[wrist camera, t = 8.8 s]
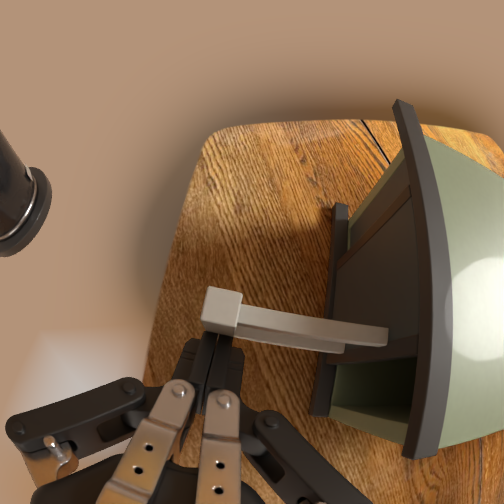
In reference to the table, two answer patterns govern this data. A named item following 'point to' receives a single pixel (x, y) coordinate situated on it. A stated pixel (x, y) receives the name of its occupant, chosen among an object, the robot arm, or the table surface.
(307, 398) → the table surface
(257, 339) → the dark grey drawer
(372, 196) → the cabinet
